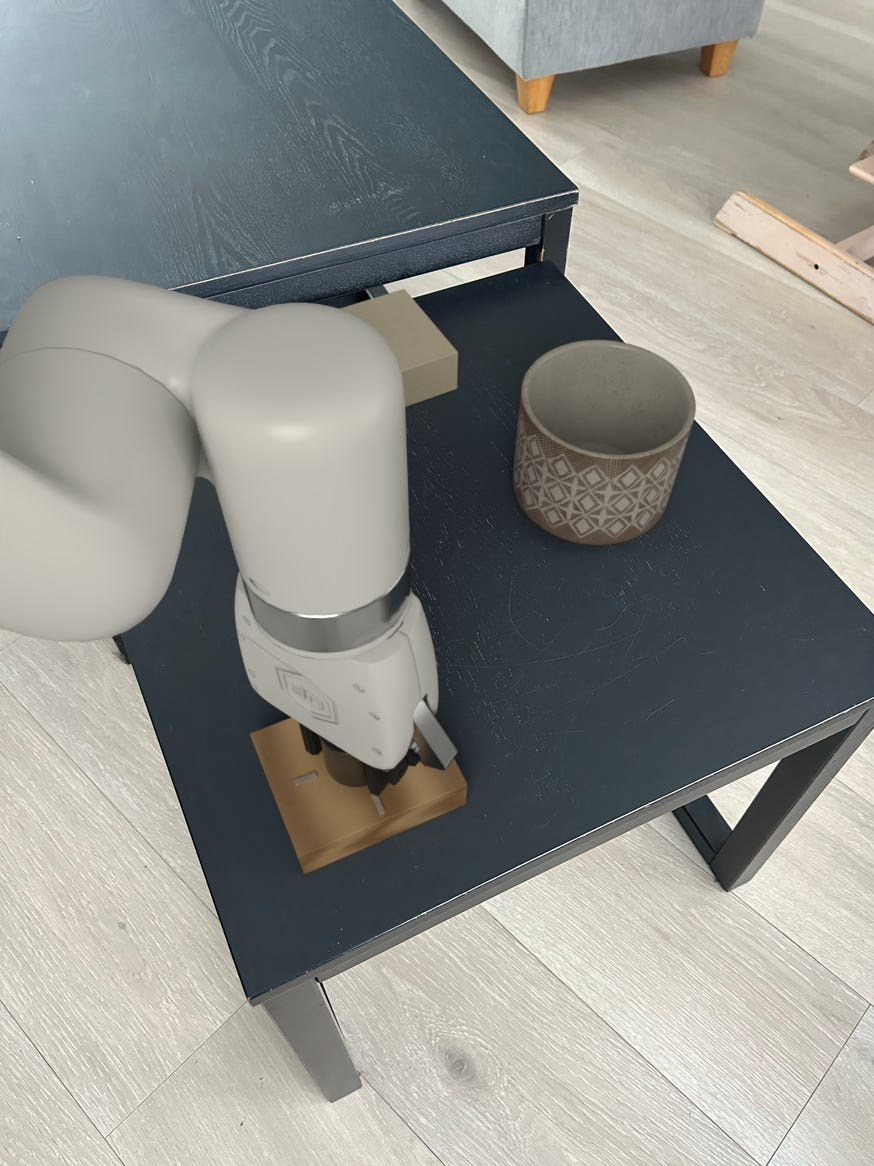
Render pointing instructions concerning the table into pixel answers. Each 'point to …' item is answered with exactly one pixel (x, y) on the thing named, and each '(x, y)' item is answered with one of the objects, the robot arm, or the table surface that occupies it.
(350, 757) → the dial
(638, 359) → the planter
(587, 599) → the table surface
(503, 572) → the table surface
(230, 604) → the table surface
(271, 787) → the dial panel
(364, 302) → the push button base
